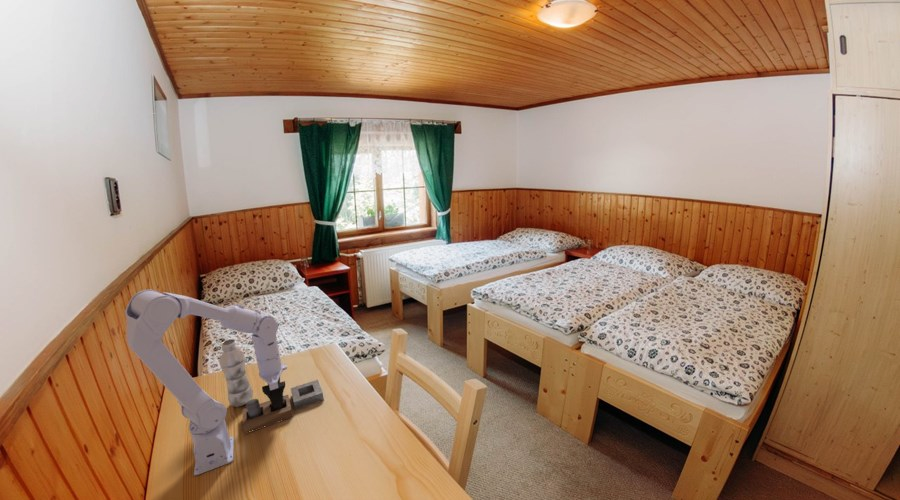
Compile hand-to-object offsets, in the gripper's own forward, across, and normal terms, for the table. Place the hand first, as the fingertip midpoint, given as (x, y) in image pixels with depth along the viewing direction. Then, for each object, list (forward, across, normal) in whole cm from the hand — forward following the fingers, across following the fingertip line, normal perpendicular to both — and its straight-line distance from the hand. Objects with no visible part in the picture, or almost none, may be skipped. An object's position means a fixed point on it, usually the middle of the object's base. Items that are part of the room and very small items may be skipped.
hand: (277, 399), depth 106 cm
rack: (+5, 0, +3) cm, 5 cm away
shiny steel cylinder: (+5, 0, 0) cm, 5 cm away
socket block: (+5, +3, -8) cm, 10 cm away
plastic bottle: (+5, +12, +10) cm, 16 cm away
